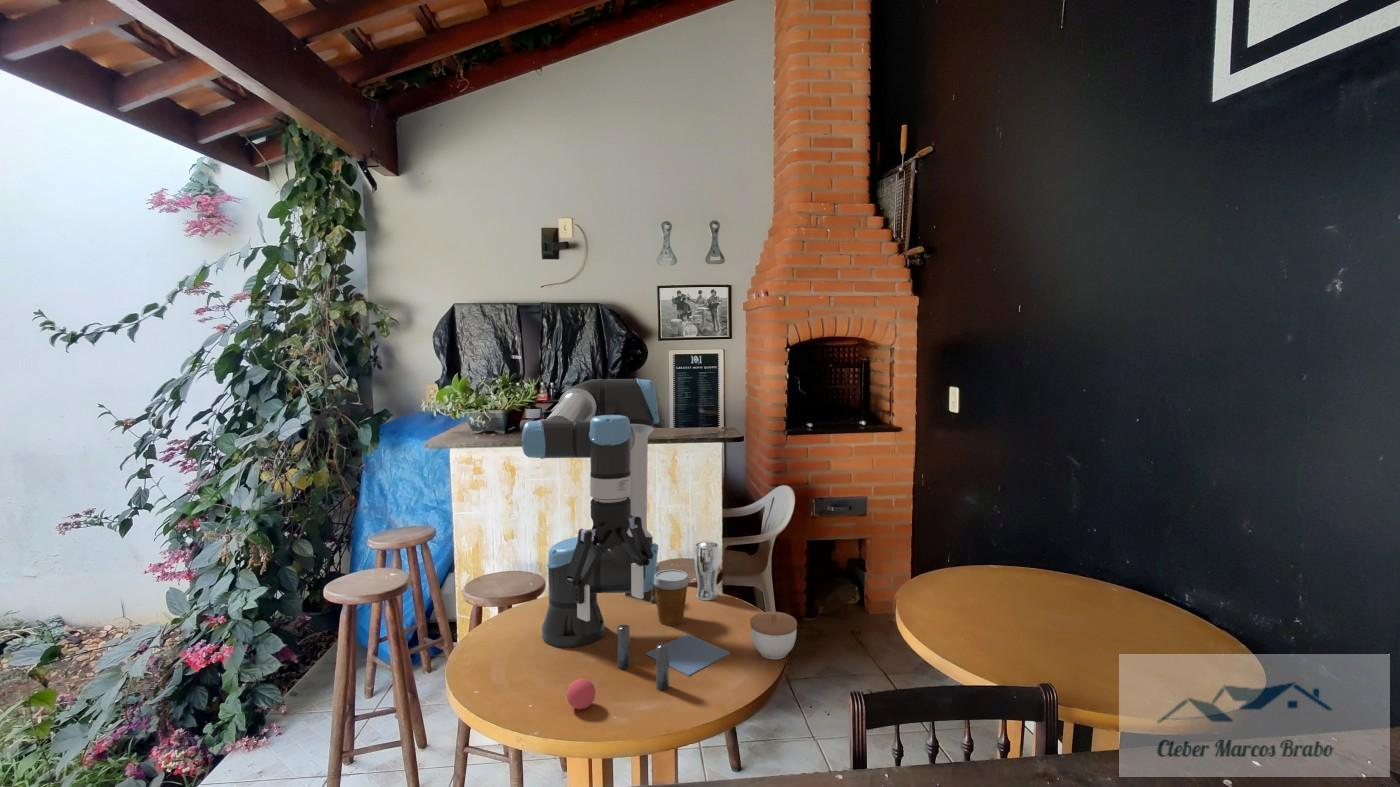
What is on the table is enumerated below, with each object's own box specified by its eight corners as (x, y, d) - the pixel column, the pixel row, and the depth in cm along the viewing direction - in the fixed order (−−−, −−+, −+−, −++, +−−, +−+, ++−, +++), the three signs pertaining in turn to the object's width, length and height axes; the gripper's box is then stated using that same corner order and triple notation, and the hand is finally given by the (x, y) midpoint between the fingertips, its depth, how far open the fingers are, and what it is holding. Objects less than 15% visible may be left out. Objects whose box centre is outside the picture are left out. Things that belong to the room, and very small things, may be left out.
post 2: (653, 687, 132) (653, 645, 131) (662, 682, 134) (662, 641, 133) (662, 692, 130) (662, 649, 130) (671, 687, 132) (671, 645, 132)
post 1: (615, 666, 141) (615, 627, 140) (624, 662, 143) (624, 623, 142) (622, 670, 139) (622, 630, 138) (632, 666, 141) (631, 627, 140)
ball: (561, 707, 125) (561, 680, 124) (584, 696, 129) (584, 670, 128) (578, 718, 121) (577, 690, 121) (601, 706, 125) (601, 680, 125)
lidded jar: (757, 639, 154) (757, 601, 153) (801, 646, 150) (801, 608, 150) (744, 659, 144) (744, 619, 143) (790, 668, 140) (791, 627, 140)
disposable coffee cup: (652, 613, 169) (652, 569, 168) (688, 612, 170) (688, 568, 169) (652, 629, 160) (652, 582, 159) (690, 627, 161) (690, 581, 160)
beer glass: (716, 602, 177) (716, 549, 175) (692, 600, 178) (692, 547, 177) (720, 592, 183) (721, 542, 182) (697, 590, 185) (697, 540, 184)
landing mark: (645, 654, 146) (645, 653, 146) (687, 634, 157) (687, 633, 157) (688, 676, 137) (688, 675, 137) (730, 653, 147) (730, 652, 147)
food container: (668, 597, 180) (668, 562, 179) (655, 604, 175) (655, 569, 174) (634, 588, 187) (634, 555, 186) (621, 595, 182) (620, 561, 181)
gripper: (570, 514, 107) (571, 635, 109) (670, 489, 126) (670, 593, 128) (543, 507, 112) (545, 623, 114) (644, 484, 131) (644, 584, 133)
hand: (611, 607), depth 121 cm, fingers open, 13 cm apart
